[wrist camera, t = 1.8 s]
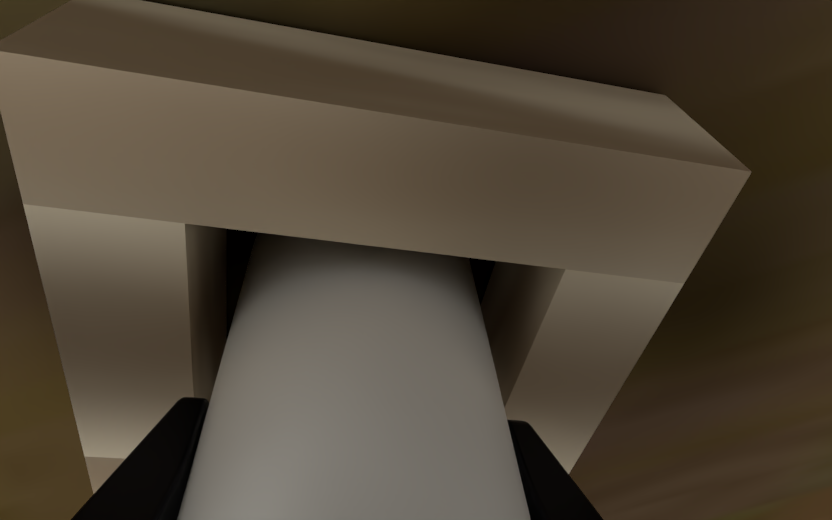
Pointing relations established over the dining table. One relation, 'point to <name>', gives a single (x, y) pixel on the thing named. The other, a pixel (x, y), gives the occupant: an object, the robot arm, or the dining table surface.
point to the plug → (355, 393)
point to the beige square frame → (339, 199)
